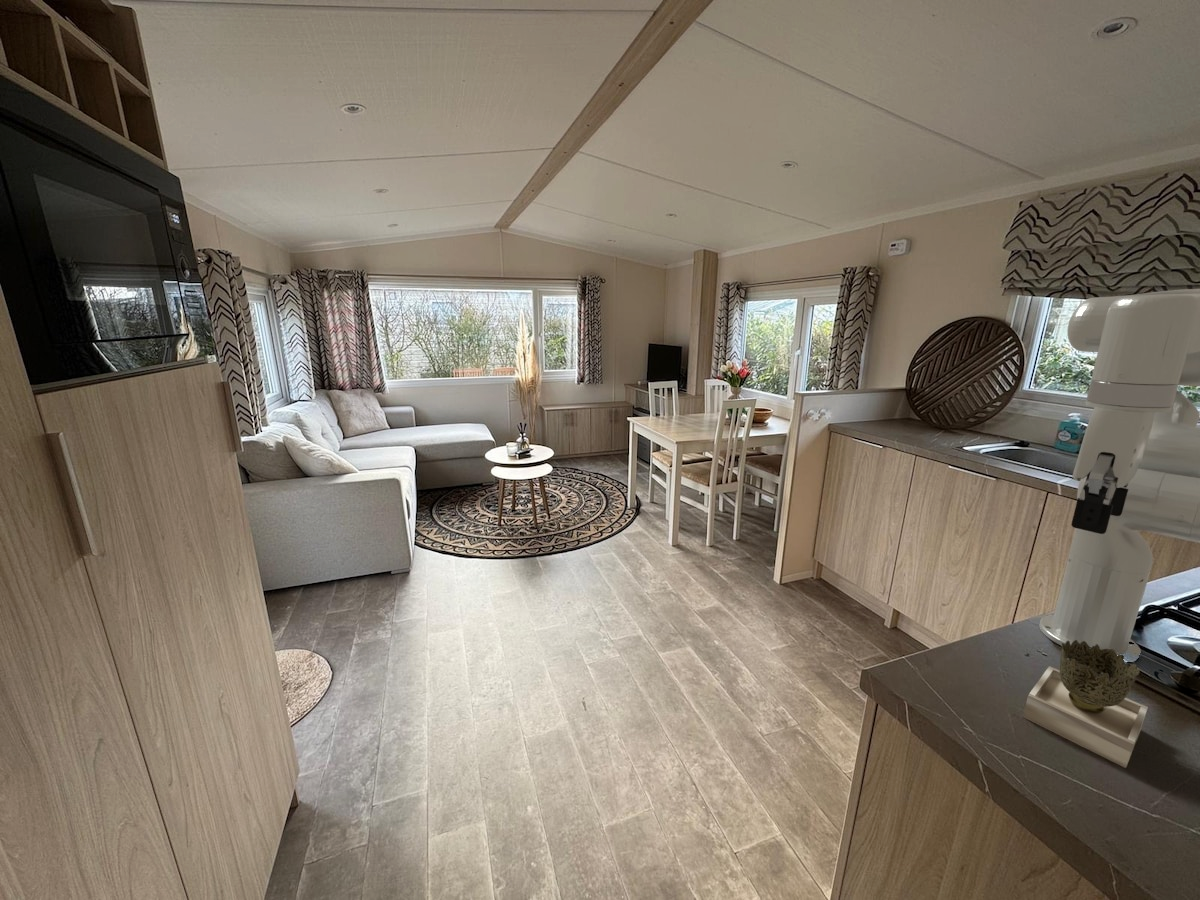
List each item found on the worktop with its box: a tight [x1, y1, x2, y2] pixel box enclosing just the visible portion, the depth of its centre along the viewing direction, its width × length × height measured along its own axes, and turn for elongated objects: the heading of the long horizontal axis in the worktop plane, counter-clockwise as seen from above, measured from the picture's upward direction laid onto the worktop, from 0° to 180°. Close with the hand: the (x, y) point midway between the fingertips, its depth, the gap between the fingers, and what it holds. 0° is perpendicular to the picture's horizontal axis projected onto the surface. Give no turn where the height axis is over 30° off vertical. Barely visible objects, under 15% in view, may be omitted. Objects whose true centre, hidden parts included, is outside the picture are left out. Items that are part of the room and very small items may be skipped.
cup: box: [1059, 640, 1141, 713], centre depth 66 cm, size 8×7×8 cm
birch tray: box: [1022, 665, 1149, 769], centre depth 67 cm, size 10×10×4 cm
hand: (1096, 521), depth 66 cm, fingers open, 9 cm apart
